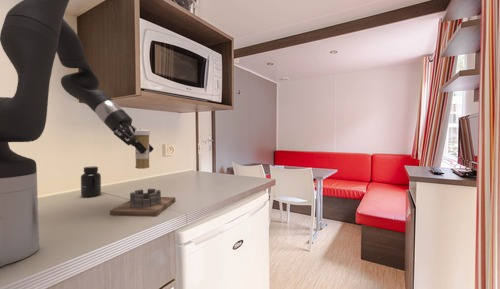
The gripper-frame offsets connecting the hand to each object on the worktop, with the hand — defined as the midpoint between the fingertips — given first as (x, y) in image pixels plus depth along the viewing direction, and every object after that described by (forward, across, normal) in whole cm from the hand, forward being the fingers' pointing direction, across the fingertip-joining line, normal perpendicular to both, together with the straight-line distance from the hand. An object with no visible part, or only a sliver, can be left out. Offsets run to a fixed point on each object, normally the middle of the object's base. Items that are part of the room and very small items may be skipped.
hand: (148, 151), depth 77 cm
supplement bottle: (-8, +13, +36) cm, 40 cm away
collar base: (+13, 0, +15) cm, 20 cm away
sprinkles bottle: (+3, 0, +6) cm, 6 cm away
